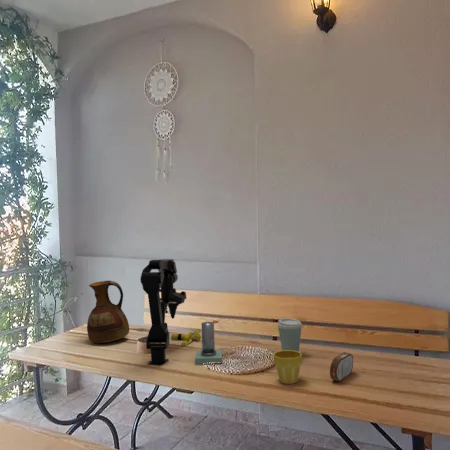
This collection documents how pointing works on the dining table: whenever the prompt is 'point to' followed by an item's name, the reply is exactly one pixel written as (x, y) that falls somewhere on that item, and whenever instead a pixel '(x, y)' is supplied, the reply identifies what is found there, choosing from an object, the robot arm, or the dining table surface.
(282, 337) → the disposable coffee cup
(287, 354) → the plant pot
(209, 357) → the green square slab
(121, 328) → the ceramic pitcher
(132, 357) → the dining table surface
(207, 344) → the cylinder
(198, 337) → the sprinkler
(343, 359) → the tin
